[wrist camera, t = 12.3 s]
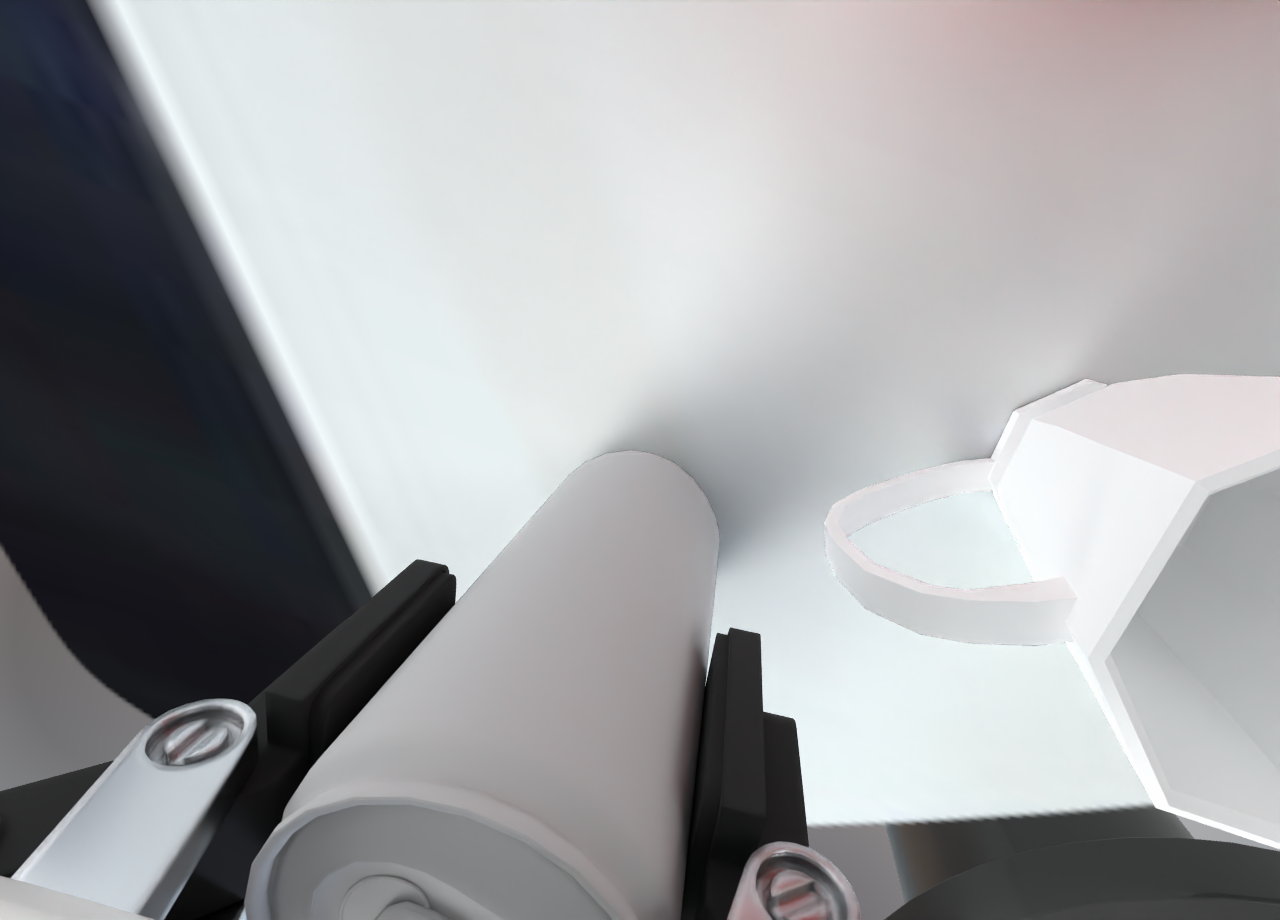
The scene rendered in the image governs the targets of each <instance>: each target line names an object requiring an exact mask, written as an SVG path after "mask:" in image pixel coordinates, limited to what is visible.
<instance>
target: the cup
mask: <svg viewBox="0 0 1280 920" xmlns="http://www.w3.org/2000/svg"><path fill="white" fill-rule="evenodd" d="M983 491H992V493H993V495H994V497H995V499H996V501H997V503H998V506H999V508H1000V510H1001V512H1002V514H1003V516H1004V519H1005V521H1006V523H1007V525H1008V527H1009V529H1010V531H1011V533H1012V535H1013V537H1014V539H1015V542H1016V544H1017V546H1018V548H1019V550H1020V552H1021V555H1022V557H1023V559H1024V561H1025V563H1026V565H1027V568H1028V570H1029V572H1030V574H1031V576H1032V578H1033V581H1034V582H1031V583H1024V584H1015V585H1006V586H997V587H988V588H979V589H970V590H963V589H955V588H948V587H941V586H934V585H929V584H927V583H924V582H921V581H919V580H916V579H913V578H911V577H908V576H906V575H903V574H900V573H898V572H895V571H893V570H890V569H887V568H885V567H882V566H879V565H877V564H875V563H874V562H872V561H871V560H870V559H869V558H868V557H867V556H866V555H865V554H864V553H863V552H861V551H860V550H859V549H858V548H857V547H856V546H855V545H854V544H853V543H851V542H850V540H849V539H848V537H847V536H849V535H851V534H852V533H854V532H856V531H858V530H860V529H861V528H863V527H865V526H867V525H869V524H871V523H872V522H875V521H877V520H880V519H882V518H885V517H887V516H890V515H893V514H895V513H898V512H900V511H903V510H906V509H909V508H912V507H914V506H917V505H920V504H923V503H925V502H928V501H932V500H936V499H941V498H945V497H949V496H953V495H958V494H962V493H966V492H983ZM824 528H825V549H826V557H827V559H828V561H829V563H830V565H831V567H832V569H833V572H834V574H835V576H836V578H837V579H838V580H839V581H840V582H841V583H842V585H843V586H844V587H845V588H846V589H847V590H848V591H849V592H850V593H851V594H852V595H853V596H854V597H855V598H856V599H857V600H858V602H859V603H860V604H861V605H862V606H863V607H864V608H865V609H867V610H869V611H871V612H873V613H875V614H877V615H880V616H882V617H884V618H886V619H888V620H890V621H893V622H895V623H897V624H899V625H901V626H903V627H906V628H908V629H910V630H912V631H914V632H916V633H918V634H921V635H926V636H931V637H936V638H942V639H947V640H953V641H958V642H964V643H972V644H998V645H1023V646H1038V645H1048V644H1057V643H1066V644H1067V646H1068V648H1069V650H1070V651H1071V653H1072V655H1073V657H1074V659H1075V660H1076V662H1077V664H1078V666H1079V667H1080V669H1081V671H1082V673H1083V675H1084V676H1085V678H1086V680H1087V682H1088V683H1089V685H1090V687H1091V689H1092V691H1093V693H1094V695H1095V697H1096V699H1097V701H1098V702H1099V704H1100V706H1101V708H1102V710H1103V712H1104V714H1105V716H1106V718H1107V720H1108V722H1109V723H1110V725H1111V727H1112V729H1113V731H1114V733H1115V735H1116V737H1117V739H1118V741H1119V743H1120V744H1121V746H1122V748H1123V750H1124V752H1125V753H1126V755H1127V757H1128V759H1129V761H1130V762H1131V764H1132V766H1133V768H1134V770H1135V771H1136V773H1137V775H1138V777H1139V779H1140V780H1141V782H1142V784H1143V786H1144V788H1145V789H1146V791H1147V793H1148V795H1149V797H1150V798H1151V800H1152V802H1153V804H1154V806H1155V808H1158V809H1161V810H1164V811H1167V812H1170V813H1173V814H1176V815H1179V816H1182V817H1185V818H1188V819H1191V820H1194V821H1197V822H1200V823H1203V824H1206V825H1209V826H1212V827H1215V828H1218V829H1221V830H1224V831H1226V832H1229V833H1233V834H1235V835H1239V836H1241V837H1244V838H1247V839H1251V840H1253V841H1257V842H1259V843H1262V844H1265V845H1268V846H1271V847H1274V848H1277V849H1280V377H1275V376H1239V375H1203V374H1175V375H1168V376H1161V377H1154V378H1147V379H1140V380H1133V381H1126V382H1119V383H1114V384H1111V385H1107V384H1103V383H1100V382H1097V381H1093V380H1090V379H1084V380H1082V381H1080V382H1077V383H1075V384H1073V385H1071V386H1068V387H1066V388H1064V389H1062V390H1059V391H1057V392H1055V393H1053V394H1050V395H1048V396H1046V397H1044V398H1041V399H1039V400H1037V401H1034V402H1032V403H1030V404H1028V405H1025V406H1023V407H1021V408H1019V409H1016V410H1014V411H1013V413H1012V415H1011V417H1010V419H1009V421H1008V423H1007V425H1006V427H1005V429H1004V432H1003V434H1002V436H1001V438H1000V440H999V442H998V444H997V446H996V448H995V450H994V452H993V454H992V456H991V458H987V459H974V460H961V461H956V462H952V463H947V464H943V465H938V466H934V467H929V468H925V469H920V470H917V471H914V472H911V473H908V474H905V475H902V476H898V477H895V478H892V479H889V480H886V481H883V482H880V483H878V484H875V485H872V486H869V487H866V488H863V489H860V490H858V491H856V492H854V493H852V494H851V495H849V496H847V497H845V498H843V499H842V500H840V501H838V502H836V503H834V504H833V505H832V507H831V509H830V511H829V513H828V516H827V518H826V520H825V522H824Z"/></svg>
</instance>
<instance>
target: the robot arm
mask: <svg viewBox="0 0 1280 920" xmlns="http://www.w3.org/2000/svg"><path fill="white" fill-rule="evenodd" d="M455 597H456V577H455V576H454V575H452V574H449V570H448V567H447V566H446V565H442V564H437V563H433V562H428V561H424V560H415V561H414V562H413V563H411V564H410V565H409V566H408V567H407V568H406V569H405V570H403V571H402V572H401V573H400V574H399V575H398V576H396V577H395V578H394V579H393V580H392V581H391V582H390V583H388V584H387V585H386V586H385V587H384V588H383V589H382V590H380V591H379V592H378V593H377V594H376V595H375V596H374V597H372V598H371V599H370V600H369V601H368V602H367V603H365V604H364V605H363V606H362V607H361V608H360V609H359V610H357V611H356V612H355V613H354V614H353V615H352V616H351V617H349V618H348V619H346V620H345V621H343V622H342V623H341V624H340V625H339V626H337V627H336V628H335V629H334V630H333V631H332V632H331V633H329V634H328V635H327V636H326V637H325V638H324V639H322V640H321V641H320V642H319V643H318V644H317V645H316V646H314V647H313V648H312V649H311V650H310V651H309V652H307V653H306V654H305V655H304V656H303V657H302V658H301V659H299V660H298V661H297V662H296V663H295V664H294V665H292V666H291V667H290V668H289V669H288V670H287V671H286V672H284V673H283V674H282V675H281V676H280V677H279V678H277V679H276V680H275V681H274V682H273V683H272V684H271V685H269V686H268V687H267V688H266V689H265V690H264V691H263V692H261V693H260V694H259V695H258V696H257V697H256V698H254V699H253V700H252V701H251V702H250V703H249V704H248V705H246V704H244V703H242V702H240V701H236V700H229V699H207V700H202V701H197V702H193V703H188V704H185V705H183V706H180V707H178V708H175V709H172V710H170V711H168V712H166V713H164V714H163V715H161V716H159V717H158V718H156V719H154V720H153V721H151V722H150V723H149V724H148V725H147V726H146V727H145V728H144V729H142V730H141V731H140V732H139V733H138V734H137V735H136V737H135V738H134V739H133V740H132V741H131V742H130V743H129V745H128V746H127V747H126V748H125V749H124V750H123V751H122V752H121V754H120V755H119V756H118V757H117V758H116V759H115V760H114V761H110V762H107V763H103V764H99V765H96V766H92V767H88V768H84V769H81V770H77V771H74V772H70V773H66V774H63V775H59V776H55V777H52V778H48V779H44V780H40V781H37V782H33V783H29V784H26V785H22V786H18V787H15V788H11V789H8V790H4V791H0V920H247V918H246V911H245V905H244V901H245V896H246V891H247V885H248V880H249V875H250V870H251V865H252V862H253V861H254V859H255V858H256V856H257V855H258V853H259V852H260V850H261V849H262V847H263V846H264V844H265V843H266V841H267V840H268V838H269V837H270V835H271V834H272V832H273V831H274V829H275V828H276V827H277V825H278V824H279V823H281V822H282V818H283V813H284V810H285V808H286V806H287V804H288V802H289V801H290V799H291V798H292V796H293V795H294V793H295V791H296V790H297V788H298V787H299V785H300V784H301V782H302V781H303V779H304V778H305V776H306V775H307V773H308V772H309V770H310V769H311V768H312V767H313V765H314V764H315V763H316V762H317V760H318V759H319V758H320V757H321V756H322V755H323V753H324V752H325V751H326V750H327V749H328V748H329V747H330V745H331V744H332V743H333V742H334V741H335V740H336V739H337V738H338V736H339V735H340V734H341V733H342V732H343V731H344V730H345V728H346V727H347V726H348V725H349V724H350V723H351V722H352V721H353V719H354V718H355V717H356V716H357V715H358V714H359V713H360V711H361V710H362V709H363V708H364V707H365V706H366V705H367V704H368V702H369V701H370V700H371V699H372V698H373V697H374V696H375V694H376V693H377V692H378V691H379V690H380V689H381V688H382V687H383V685H384V684H385V683H386V682H387V681H388V680H389V679H390V677H391V676H392V675H393V674H394V673H395V672H396V671H397V669H398V668H399V667H400V666H401V665H402V664H403V663H404V662H405V660H406V659H407V658H408V657H409V656H410V655H411V654H412V652H413V651H414V650H415V649H416V648H417V647H418V646H419V645H420V643H421V642H422V641H423V640H424V639H425V638H426V637H427V635H428V634H429V633H430V632H431V631H432V630H433V629H434V628H435V626H436V625H437V624H438V623H439V622H440V621H441V620H442V618H443V617H444V616H445V615H446V614H447V613H448V612H449V611H450V609H451V608H452V607H453V606H454V605H455ZM680 920H860V907H859V904H858V901H857V898H856V895H855V893H854V890H853V888H852V887H851V885H850V884H849V882H848V881H847V879H846V878H845V877H844V875H843V873H842V872H841V871H840V870H839V869H837V867H835V865H834V864H833V863H831V862H830V861H829V860H828V859H827V858H825V857H824V856H822V855H821V854H819V853H817V852H816V851H814V850H813V849H811V848H809V844H808V834H807V824H806V815H805V805H804V795H803V786H802V776H801V767H800V757H799V747H798V738H797V728H796V723H795V720H794V719H793V718H788V717H784V716H780V715H775V714H771V713H767V712H763V699H762V668H761V637H760V634H758V633H753V632H748V631H744V630H739V629H735V628H730V629H729V632H728V635H724V634H720V633H717V635H716V639H715V644H714V648H713V653H712V658H711V663H710V667H709V672H708V677H707V681H706V686H705V693H704V702H703V712H702V721H701V731H700V740H699V750H698V759H697V769H696V778H695V788H694V797H693V807H692V816H691V825H690V835H689V844H688V854H687V863H686V873H685V882H684V892H683V901H682V911H681V919H680Z"/></svg>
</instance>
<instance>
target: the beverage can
mask: <svg viewBox="0 0 1280 920" xmlns="http://www.w3.org/2000/svg"><path fill="white" fill-rule="evenodd" d="M719 542H720V536H719V531H718V525H717V520H716V516H715V514H714V512H713V510H712V508H711V505H710V503H709V501H708V499H707V497H706V495H705V494H704V493H703V491H702V490H701V489H700V487H699V486H698V485H697V483H696V482H695V481H694V479H693V478H692V477H691V476H690V475H688V474H687V473H686V472H685V471H684V470H682V469H681V468H680V467H679V466H678V465H676V464H675V463H674V462H672V461H669V460H667V459H665V458H662V457H660V456H658V455H655V454H653V453H646V452H638V451H631V450H627V451H620V452H612V453H606V454H603V455H601V456H598V457H596V458H593V459H591V460H589V461H586V462H585V463H583V464H582V465H581V466H580V467H578V468H577V469H576V470H575V471H573V472H572V473H571V474H570V475H569V476H568V477H567V478H566V479H565V480H564V481H563V482H562V484H561V485H560V486H559V487H558V488H557V489H556V490H555V491H554V493H553V494H552V495H551V496H550V497H549V498H548V499H547V501H546V502H545V503H544V504H543V505H542V506H541V507H540V508H539V510H538V511H537V512H536V513H535V514H534V515H533V516H532V518H531V519H530V520H529V521H528V522H527V523H526V524H525V525H524V527H523V528H522V529H521V530H520V531H519V532H518V533H517V535H516V536H515V537H514V538H513V539H512V540H511V541H510V542H509V544H508V545H507V546H506V547H505V548H504V549H503V550H502V552H501V553H500V554H499V555H498V556H497V557H496V558H495V560H494V561H493V562H492V563H491V564H490V565H489V566H488V567H487V569H486V570H485V571H484V572H483V573H482V574H481V575H480V577H479V578H478V579H477V580H476V581H475V582H474V583H473V584H472V586H471V587H470V588H469V589H468V590H467V591H466V592H465V594H464V595H463V596H462V597H461V598H460V599H459V600H458V601H457V603H456V604H455V605H454V606H453V607H452V608H451V609H450V611H449V612H448V613H447V614H446V615H445V616H444V617H443V618H442V620H441V621H440V622H439V623H438V624H437V625H436V626H435V628H434V629H433V630H432V631H431V632H430V633H429V634H428V635H427V637H426V638H425V639H424V640H423V641H422V642H421V643H420V645H419V646H418V647H417V648H416V649H415V650H414V651H413V652H412V654H411V655H410V656H409V657H408V658H407V659H406V660H405V662H404V663H403V664H402V665H401V666H400V667H399V668H398V669H397V671H396V672H395V673H394V674H393V675H392V676H391V677H390V679H389V680H388V681H387V682H386V683H385V684H384V685H383V687H382V688H381V689H380V690H379V691H378V692H377V693H376V694H375V696H374V697H373V698H372V699H371V700H370V701H369V702H368V704H367V705H366V706H365V707H364V708H363V709H362V710H361V711H360V713H359V714H358V715H357V716H356V717H355V718H354V719H353V721H352V722H351V723H350V724H349V725H348V726H347V727H346V728H345V730H344V731H343V732H342V733H341V734H340V735H339V736H338V738H337V739H336V740H335V741H334V742H333V743H332V744H331V745H330V747H329V748H328V749H327V750H326V751H325V752H324V753H323V755H322V756H321V757H320V758H319V759H318V760H317V762H316V763H315V764H314V765H313V767H312V768H311V769H310V770H309V772H308V773H307V775H306V776H305V778H304V779H303V781H302V782H301V784H300V785H299V787H298V788H297V790H296V791H295V793H294V795H293V796H292V798H291V799H290V801H289V802H288V804H287V806H286V808H285V810H284V813H283V818H282V822H281V823H279V824H278V825H277V827H276V828H275V829H274V831H273V832H272V834H271V835H270V837H269V838H268V840H267V841H266V843H265V844H264V846H263V847H262V849H261V850H260V852H259V853H258V855H257V856H256V858H255V859H254V861H253V862H252V865H251V870H250V875H249V880H248V885H247V891H246V896H245V901H244V905H245V911H246V918H247V920H680V919H681V911H682V901H683V892H684V882H685V873H686V863H687V854H688V844H689V835H690V825H691V816H692V807H693V797H694V788H695V778H696V769H697V759H698V750H699V740H700V731H701V721H702V712H703V702H704V693H705V683H706V674H707V664H708V655H709V645H710V636H711V626H712V616H713V606H714V596H715V586H716V575H717V565H718V554H719Z"/></svg>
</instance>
